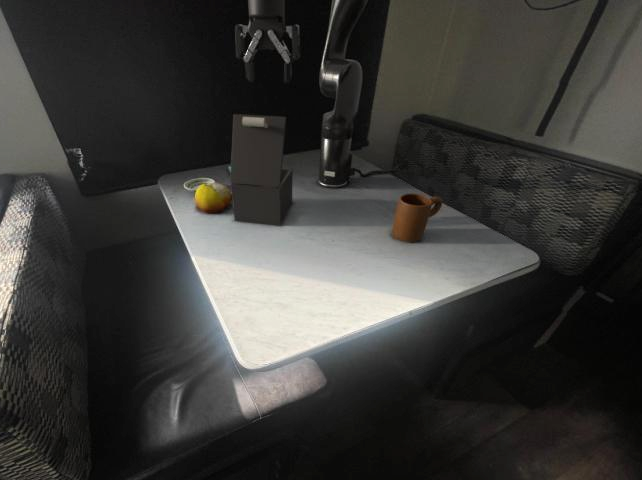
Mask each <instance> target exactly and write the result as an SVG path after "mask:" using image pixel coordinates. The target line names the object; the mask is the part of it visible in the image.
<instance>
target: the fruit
mask: <svg viewBox="0 0 642 480" xmlns="http://www.w3.org/2000/svg"><path fill="white" fill-rule="evenodd" d="M194 202H195V203H194V204H195V205H196V207H197V209H198V210H199V212H201V213H204V214H212V215H213V214H217V213H221V212H222V211H224V210H225V211H226V210H227V209H228V208H229V207H230V205H231V204H232V203H233V199H232V190H231V189H230V188H228V187H227V186H226V185H224V184H221V183H219V182H215V183H209V184H202V185H201V186H199V187H198V189H197V190H196V193H194Z"/></svg>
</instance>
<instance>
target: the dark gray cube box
mask: <svg viewBox="0 0 642 480" xmlns="http://www.w3.org/2000/svg"><path fill="white" fill-rule="evenodd" d="M230 191H231V194H232V207H233V216H234V221H235V222H242V223H243V222H244V223H252V224H261V225H271V226H279V227H281V226H282V224H283V221H284V220H285V218H286V215H287V214H288V212H289V210H290V208H291V206H292V205H293V168H283V167H282V172H281V184H280V188H279V187H276V188H273V187H262V186H257V185H246V184H235V183H230Z"/></svg>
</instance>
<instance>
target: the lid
mask: <svg viewBox="0 0 642 480" xmlns="http://www.w3.org/2000/svg"><path fill="white" fill-rule="evenodd" d="M232 116H233V118H232V135H231V136H232V137H231V138H232V139H231V158H230V166H231V173H230V176H229V177H230V179H229V183H230V184H232V183H235V184H246V185H257V186H268V187H279V188H280V184H281V172H282V168H283V159H284V148H285V136H286V124H287V117H286V116H277V115H276V116H275V115H258V114H240V113H239V114H237V113H233V115H232Z"/></svg>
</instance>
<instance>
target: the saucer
mask: <svg viewBox="0 0 642 480" xmlns="http://www.w3.org/2000/svg"><path fill="white" fill-rule="evenodd" d="M209 183H216V180H214V179H213V178H208V177H198V178H192V179H189V180H187V181H185V182H184V183H183V188H184V189H185V190H187V191H188V192H191V193H193V194H195V193H196V190H197V189H198V187H199V186H201V185H202V184H209Z"/></svg>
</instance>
